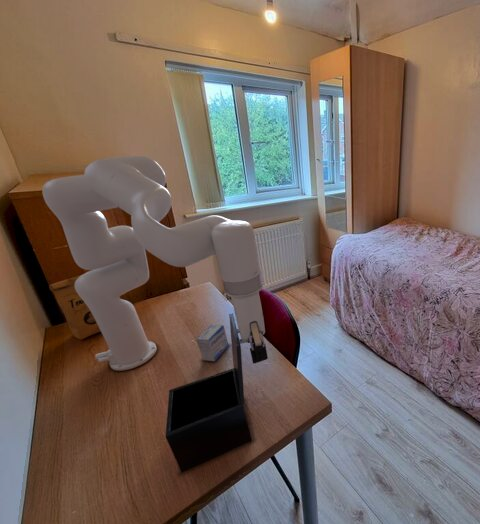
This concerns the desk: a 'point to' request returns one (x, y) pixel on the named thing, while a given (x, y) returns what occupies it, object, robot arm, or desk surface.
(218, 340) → the medicine box
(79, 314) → the coffee package
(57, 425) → the desk surface
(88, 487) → the desk surface
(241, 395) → the bin lid
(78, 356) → the desk surface
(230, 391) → the bin
